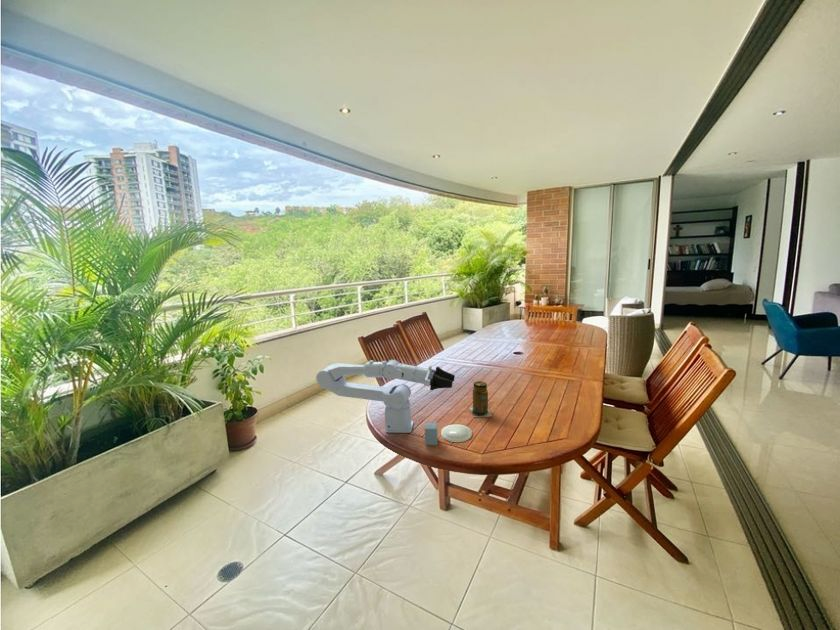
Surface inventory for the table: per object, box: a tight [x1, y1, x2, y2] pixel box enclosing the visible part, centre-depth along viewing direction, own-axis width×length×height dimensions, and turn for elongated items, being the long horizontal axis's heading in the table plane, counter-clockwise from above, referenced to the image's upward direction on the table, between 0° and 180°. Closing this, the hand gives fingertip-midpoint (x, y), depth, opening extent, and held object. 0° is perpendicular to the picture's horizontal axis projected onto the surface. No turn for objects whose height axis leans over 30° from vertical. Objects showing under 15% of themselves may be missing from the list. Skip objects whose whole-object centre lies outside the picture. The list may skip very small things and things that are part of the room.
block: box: [424, 422, 439, 446], centre depth 117 cm, size 4×4×6 cm
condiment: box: [469, 380, 493, 418], centre depth 135 cm, size 7×8×12 cm
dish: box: [440, 423, 473, 443], centre depth 122 cm, size 11×11×1 cm
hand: (453, 381), depth 120 cm, fingers open, 7 cm apart
